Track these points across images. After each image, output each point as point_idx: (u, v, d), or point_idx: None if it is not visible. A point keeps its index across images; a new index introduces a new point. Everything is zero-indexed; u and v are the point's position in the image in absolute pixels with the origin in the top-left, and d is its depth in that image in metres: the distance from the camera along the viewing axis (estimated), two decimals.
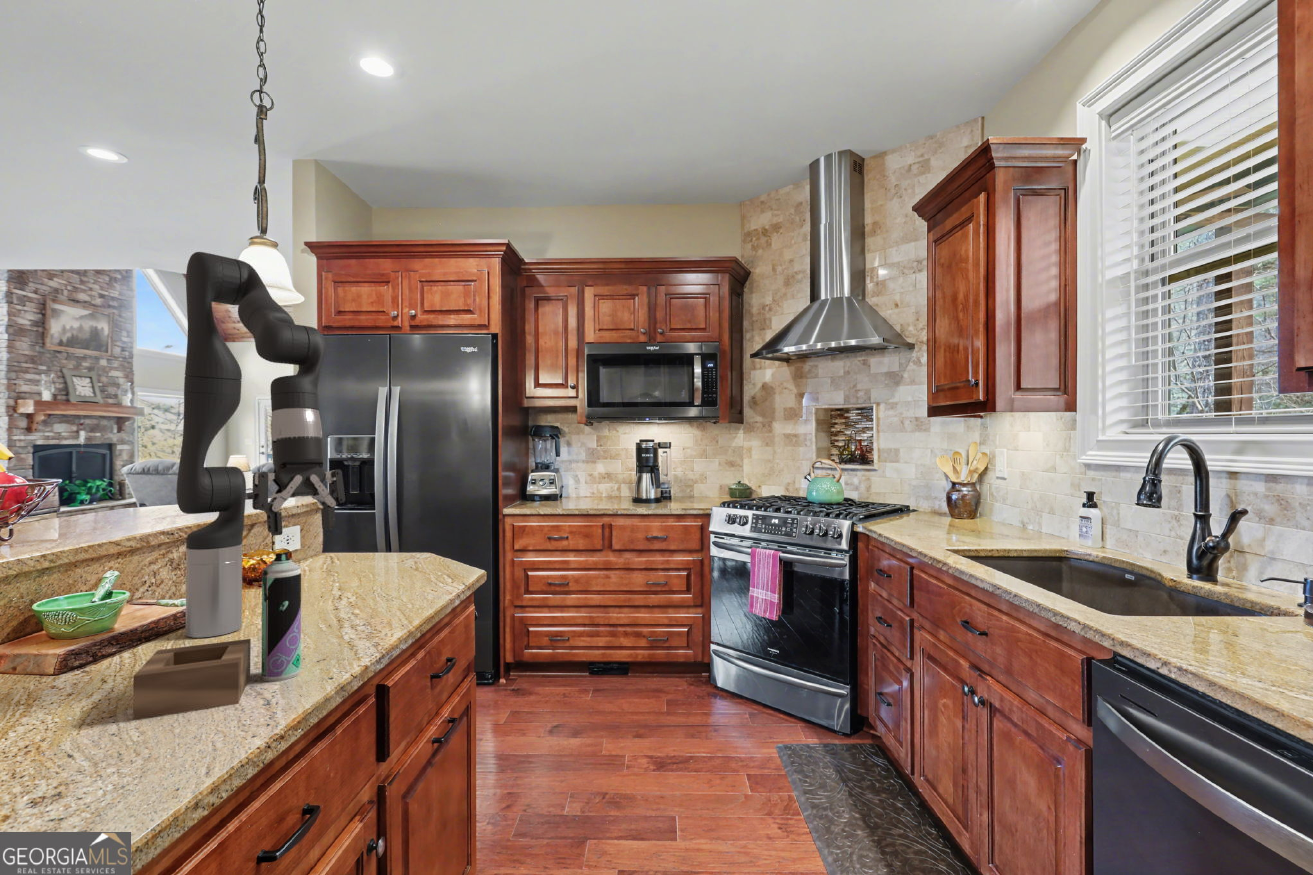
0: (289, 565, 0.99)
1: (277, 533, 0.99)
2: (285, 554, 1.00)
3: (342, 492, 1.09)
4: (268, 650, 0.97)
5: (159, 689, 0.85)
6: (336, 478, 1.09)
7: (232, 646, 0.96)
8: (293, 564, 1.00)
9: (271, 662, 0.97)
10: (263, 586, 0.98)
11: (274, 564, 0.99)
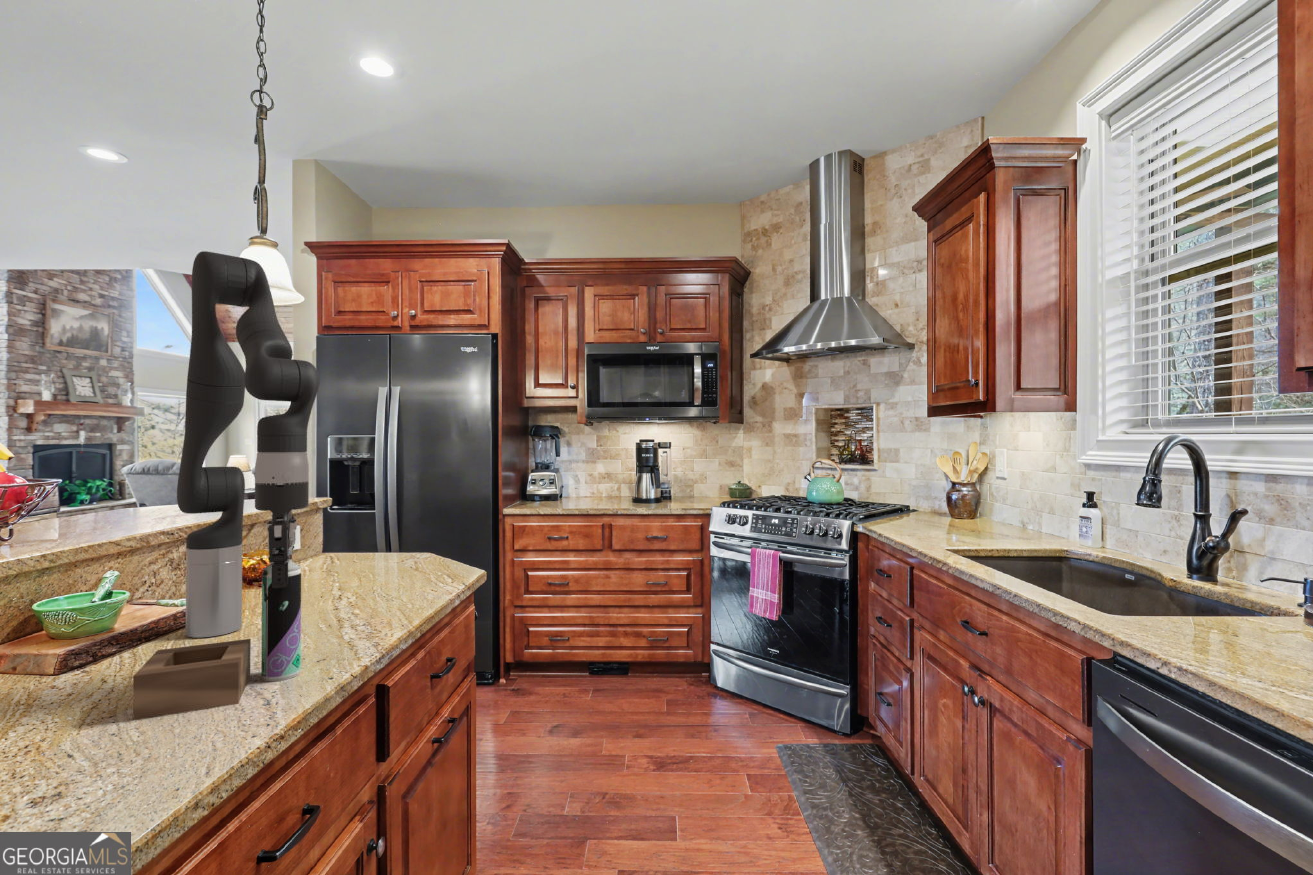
0: (289, 565, 0.99)
1: (285, 585, 0.98)
2: None
3: None
4: (267, 650, 0.97)
5: (159, 689, 0.85)
6: None
7: (232, 646, 0.96)
8: (293, 564, 1.00)
9: (271, 662, 0.97)
10: (263, 586, 0.98)
11: None
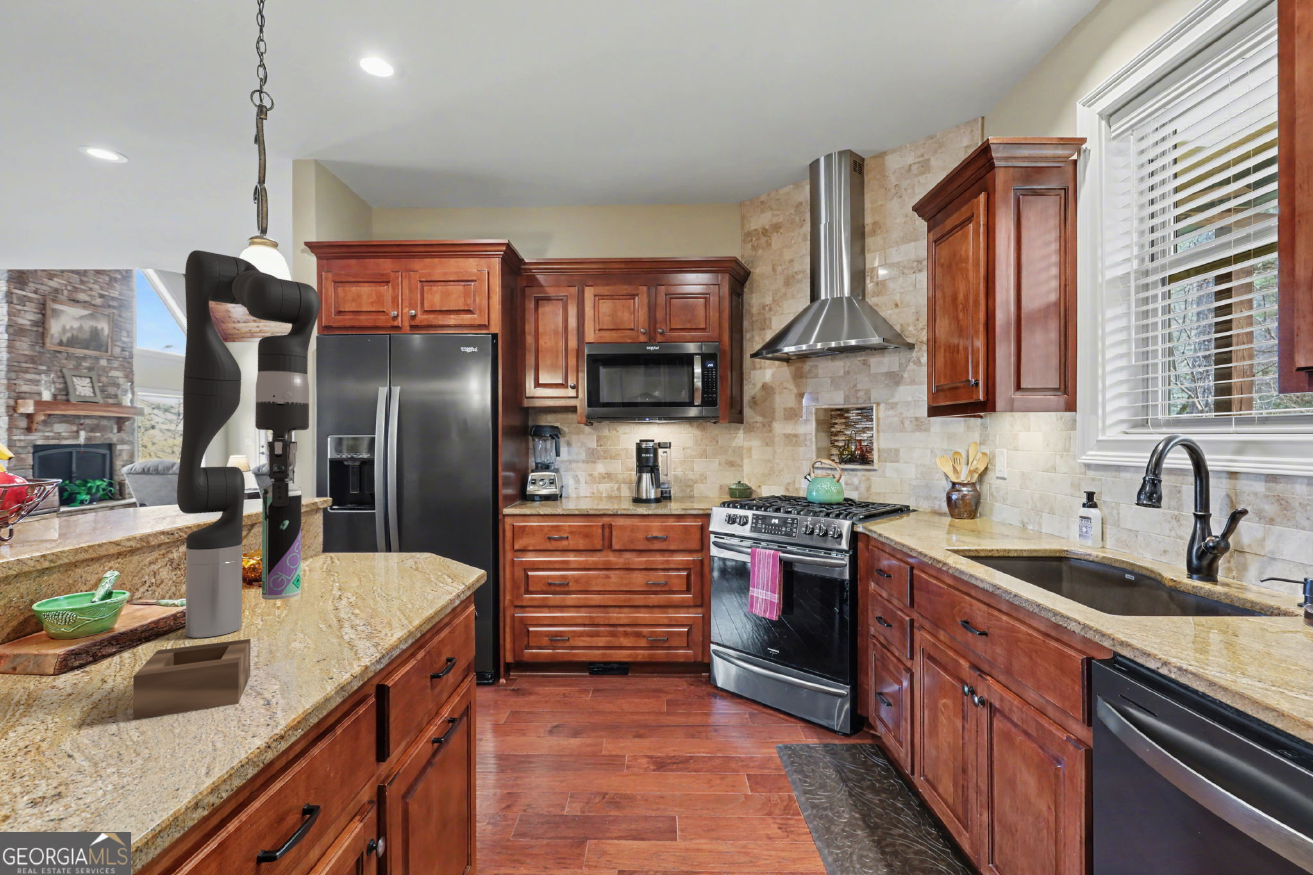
0: (289, 486, 0.99)
1: (286, 504, 0.98)
2: None
3: None
4: (268, 568, 0.98)
5: (159, 689, 0.85)
6: None
7: (232, 646, 0.96)
8: (293, 485, 1.00)
9: (272, 580, 0.98)
10: (263, 505, 0.98)
11: None
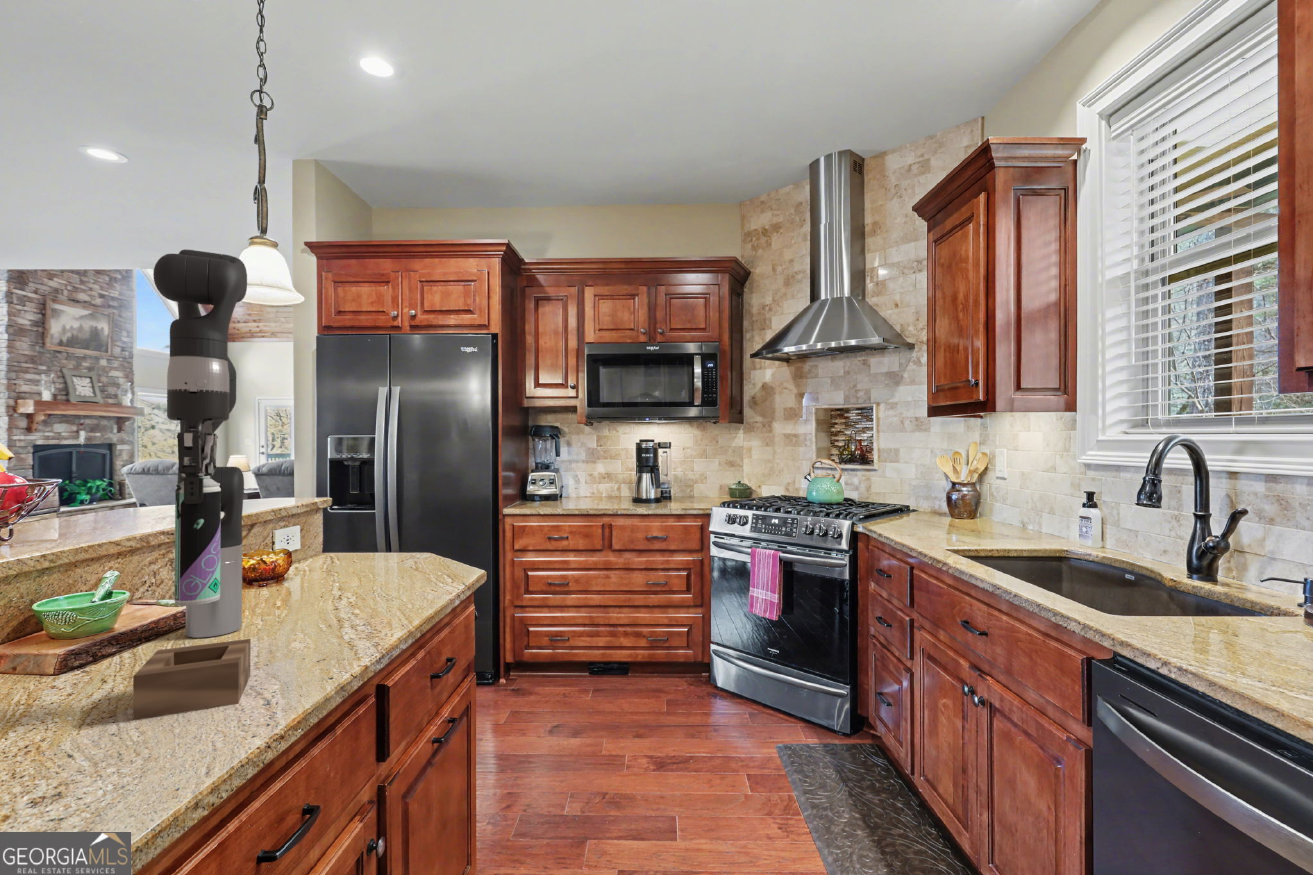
0: (205, 481, 0.91)
1: (200, 501, 0.90)
2: None
3: (215, 459, 0.98)
4: (180, 571, 0.89)
5: (159, 689, 0.85)
6: None
7: (232, 646, 0.96)
8: (211, 481, 0.92)
9: (184, 585, 0.89)
10: (176, 502, 0.90)
11: None
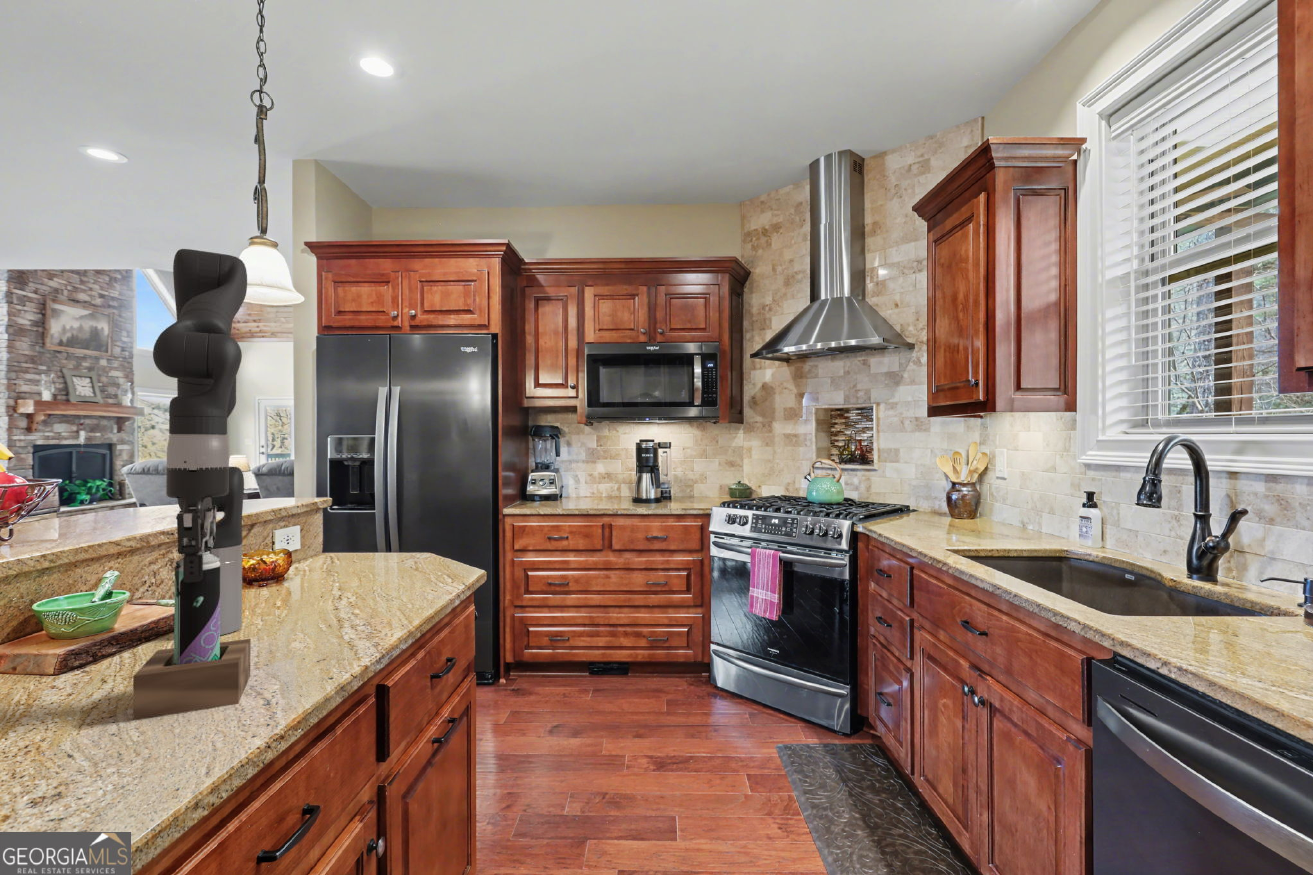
0: (205, 558, 0.91)
1: (199, 579, 0.89)
2: None
3: (215, 531, 0.98)
4: (180, 650, 0.89)
5: (159, 689, 0.85)
6: None
7: (232, 646, 0.96)
8: (210, 556, 0.92)
9: (184, 663, 0.89)
10: (175, 580, 0.90)
11: None
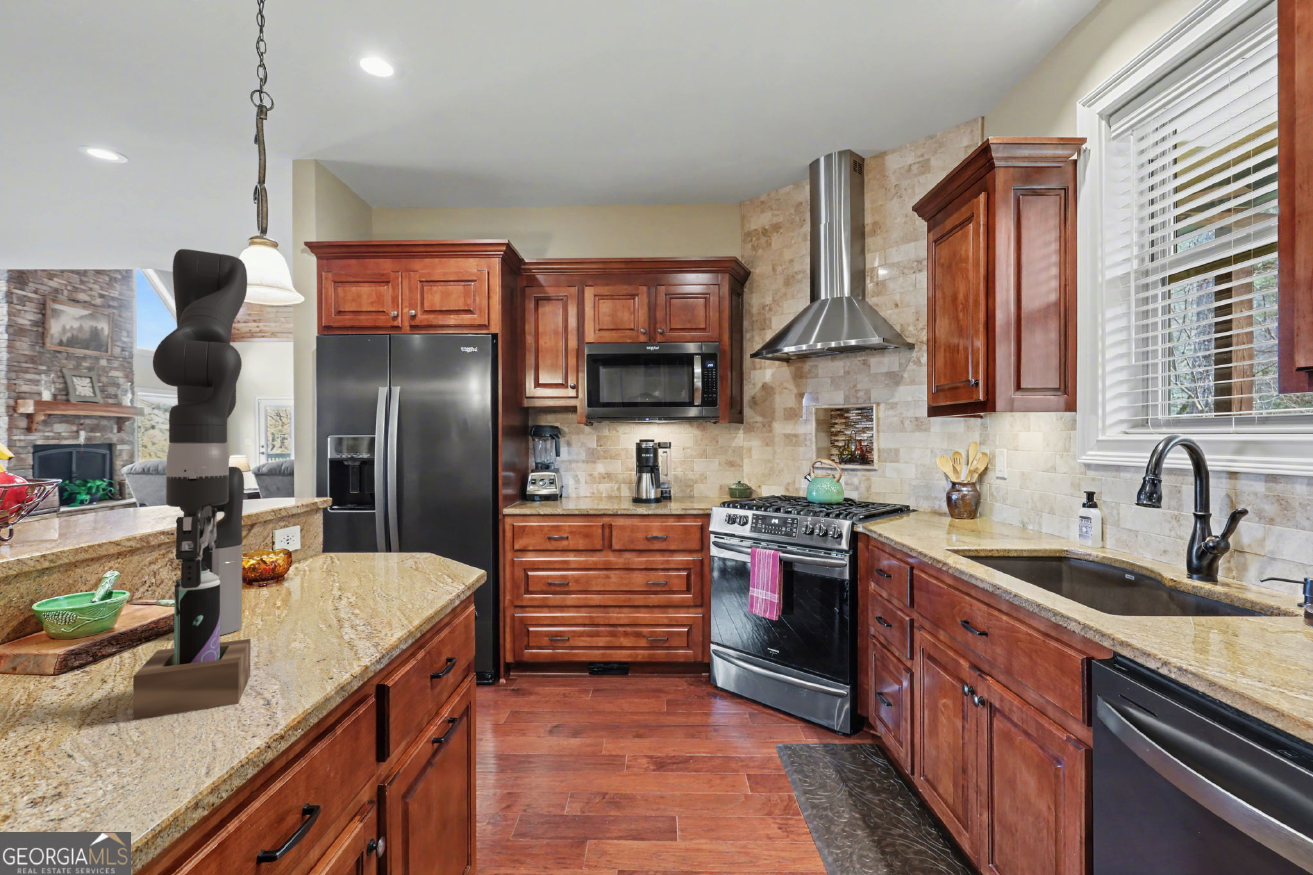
0: (204, 576, 0.91)
1: (197, 585, 0.88)
2: (201, 564, 0.92)
3: None
4: None
5: (159, 689, 0.85)
6: None
7: (232, 646, 0.96)
8: (210, 575, 0.92)
9: None
10: (175, 599, 0.90)
11: None
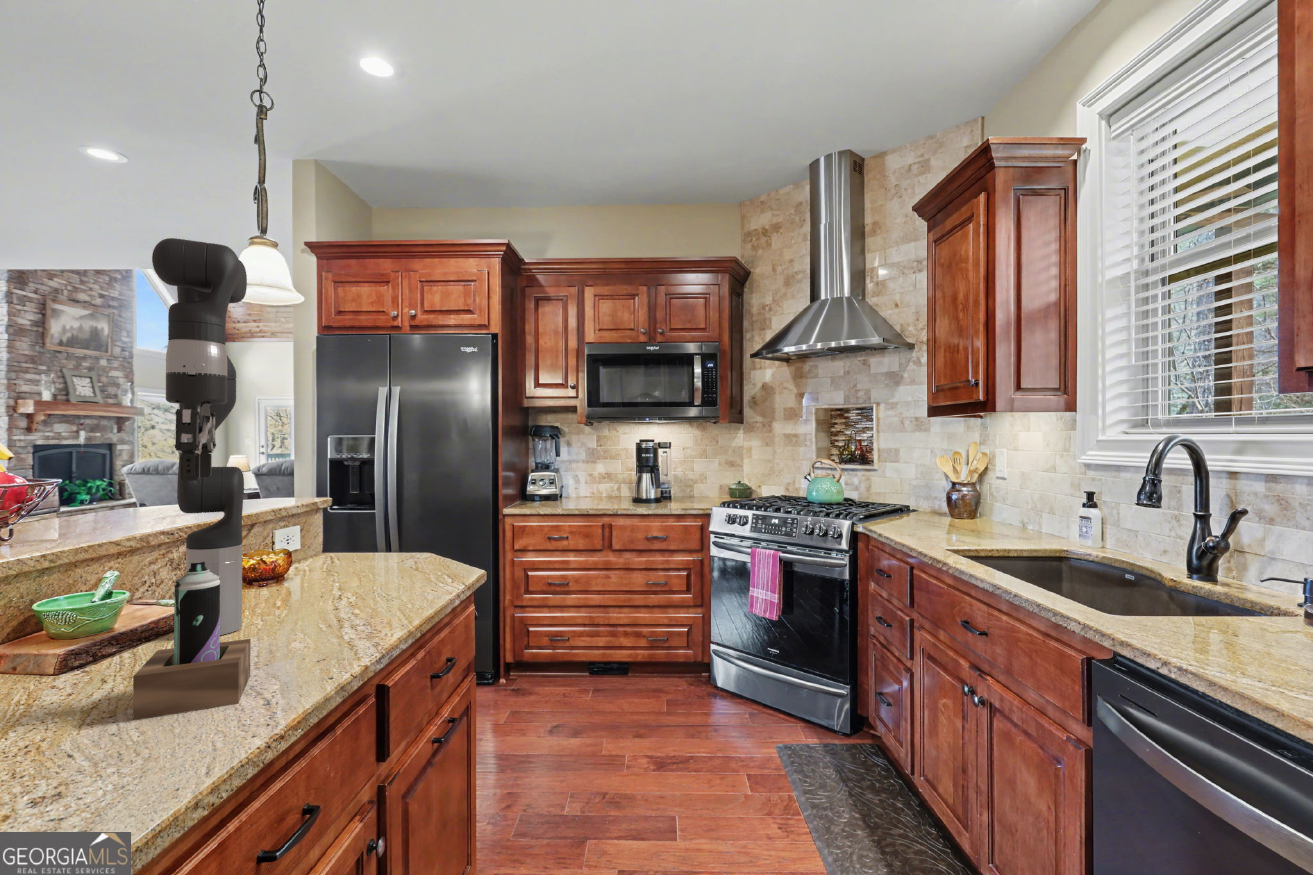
0: (204, 576, 0.91)
1: (196, 478, 0.90)
2: (201, 564, 0.92)
3: None
4: None
5: (159, 689, 0.85)
6: None
7: (232, 646, 0.96)
8: (210, 575, 0.92)
9: None
10: (175, 599, 0.90)
11: (188, 575, 0.91)
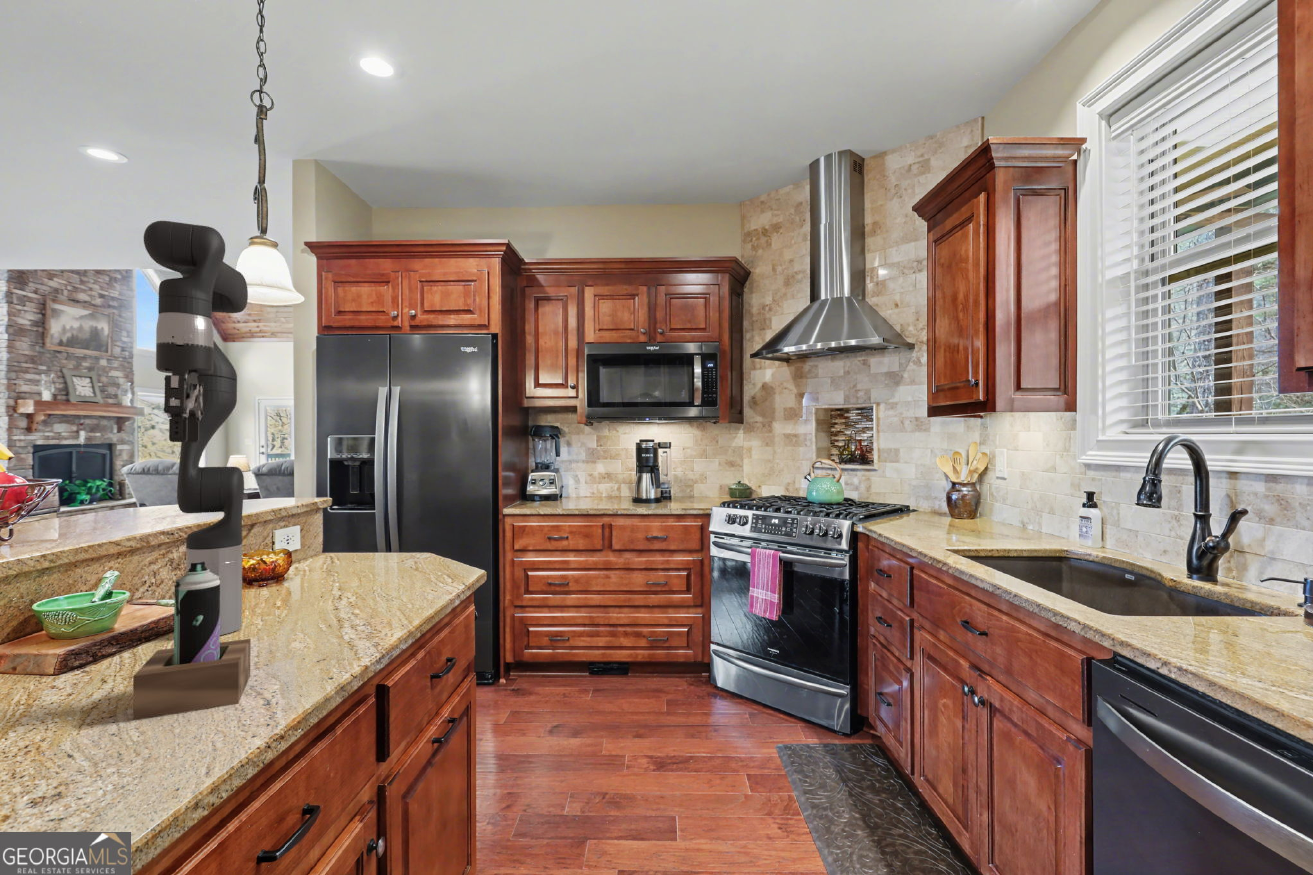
0: (204, 576, 0.91)
1: (184, 440, 0.97)
2: (201, 564, 0.92)
3: (202, 406, 1.08)
4: None
5: (159, 689, 0.85)
6: None
7: (232, 646, 0.96)
8: (210, 575, 0.92)
9: None
10: (175, 599, 0.90)
11: (188, 575, 0.91)
